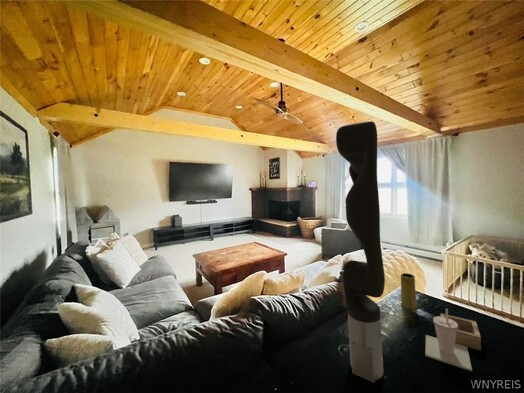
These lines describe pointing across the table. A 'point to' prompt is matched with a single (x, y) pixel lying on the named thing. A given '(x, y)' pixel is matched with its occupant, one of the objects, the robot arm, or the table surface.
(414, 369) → the table surface
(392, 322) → the table surface
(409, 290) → the vase
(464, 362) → the mat
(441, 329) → the smoothie
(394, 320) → the table surface
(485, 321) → the table surface
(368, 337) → the robot arm
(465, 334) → the sleeve
